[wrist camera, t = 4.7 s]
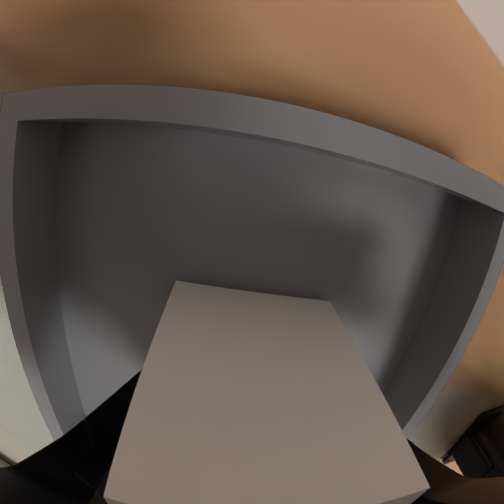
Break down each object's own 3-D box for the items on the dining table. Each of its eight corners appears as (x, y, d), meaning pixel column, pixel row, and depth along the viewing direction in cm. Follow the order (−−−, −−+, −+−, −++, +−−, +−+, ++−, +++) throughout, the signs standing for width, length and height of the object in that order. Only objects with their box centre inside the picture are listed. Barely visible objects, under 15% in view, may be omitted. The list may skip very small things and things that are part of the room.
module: (330, 301, 10) (429, 487, 3) (292, 404, 11) (325, 557, 5) (175, 280, 9) (103, 496, 2) (170, 392, 11) (143, 554, 4)
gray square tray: (468, 181, 9) (521, 196, 7) (350, 448, 14) (364, 486, 12) (57, 102, 8) (3, 93, 5) (81, 421, 13) (65, 461, 10)
